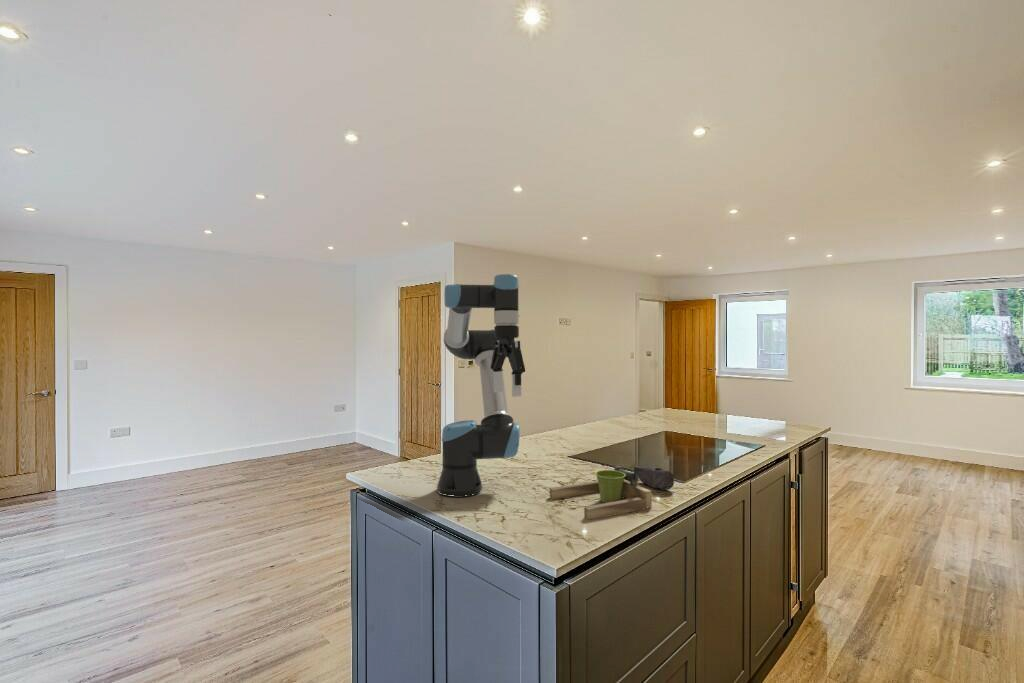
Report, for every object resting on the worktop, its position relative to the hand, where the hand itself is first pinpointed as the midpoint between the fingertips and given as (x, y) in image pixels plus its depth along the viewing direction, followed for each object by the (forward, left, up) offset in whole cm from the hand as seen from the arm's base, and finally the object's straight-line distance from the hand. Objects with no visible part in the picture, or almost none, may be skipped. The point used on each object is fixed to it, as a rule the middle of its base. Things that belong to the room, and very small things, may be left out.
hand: (507, 394), depth 150 cm
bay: (+9, +28, -35) cm, 45 cm away
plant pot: (+10, +32, -35) cm, 48 cm away
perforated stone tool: (+4, +54, -35) cm, 64 cm away
